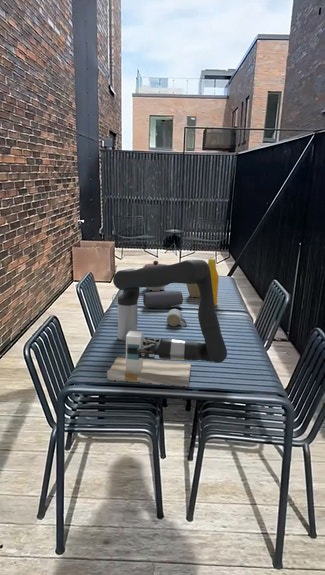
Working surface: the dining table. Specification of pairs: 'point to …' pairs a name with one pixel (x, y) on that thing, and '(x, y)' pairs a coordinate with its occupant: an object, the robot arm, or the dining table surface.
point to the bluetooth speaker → (162, 299)
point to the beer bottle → (214, 278)
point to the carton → (132, 360)
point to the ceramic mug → (175, 318)
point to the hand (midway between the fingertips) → (129, 346)
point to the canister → (154, 287)
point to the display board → (152, 372)
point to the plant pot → (193, 290)
